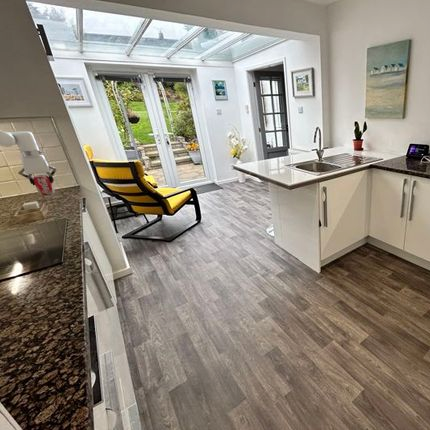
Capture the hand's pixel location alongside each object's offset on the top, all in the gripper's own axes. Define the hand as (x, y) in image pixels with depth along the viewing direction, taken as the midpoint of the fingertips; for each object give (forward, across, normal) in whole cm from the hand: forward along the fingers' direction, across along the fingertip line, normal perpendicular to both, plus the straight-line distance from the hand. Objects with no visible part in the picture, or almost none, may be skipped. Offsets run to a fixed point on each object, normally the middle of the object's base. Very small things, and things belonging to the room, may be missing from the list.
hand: (43, 183), depth 158 cm
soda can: (+7, 0, 0) cm, 7 cm away
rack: (+13, +5, +27) cm, 30 cm away
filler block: (+12, +5, +22) cm, 26 cm away
